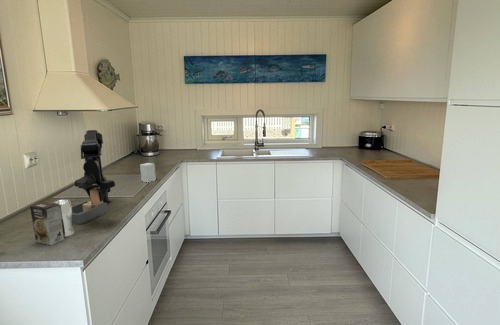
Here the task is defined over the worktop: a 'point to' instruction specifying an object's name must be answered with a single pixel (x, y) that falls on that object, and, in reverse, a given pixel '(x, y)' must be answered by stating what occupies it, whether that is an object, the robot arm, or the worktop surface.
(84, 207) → the beech cube
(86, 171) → the robot arm
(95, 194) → the terracotta cylinder
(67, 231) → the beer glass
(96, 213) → the tote
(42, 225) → the coffee box
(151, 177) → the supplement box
